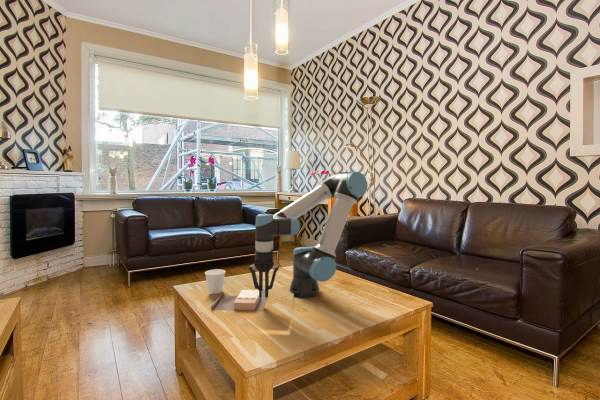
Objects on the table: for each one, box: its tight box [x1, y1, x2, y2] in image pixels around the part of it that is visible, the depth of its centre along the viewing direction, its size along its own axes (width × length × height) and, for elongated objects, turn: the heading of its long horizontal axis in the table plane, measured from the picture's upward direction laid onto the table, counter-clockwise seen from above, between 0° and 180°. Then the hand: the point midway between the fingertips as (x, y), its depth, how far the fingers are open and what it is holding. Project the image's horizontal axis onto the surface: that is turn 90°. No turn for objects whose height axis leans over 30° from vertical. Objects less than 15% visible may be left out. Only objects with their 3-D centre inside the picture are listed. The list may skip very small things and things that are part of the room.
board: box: [210, 291, 269, 312], centre depth 143 cm, size 22×17×3 cm
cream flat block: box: [237, 289, 260, 304], centre depth 146 cm, size 9×11×3 cm
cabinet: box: [233, 298, 257, 311], centre depth 137 cm, size 9×5×3 cm, turn 88°
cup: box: [204, 268, 226, 296], centre depth 157 cm, size 10×10×11 cm
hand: (263, 304), depth 137 cm, fingers closed
